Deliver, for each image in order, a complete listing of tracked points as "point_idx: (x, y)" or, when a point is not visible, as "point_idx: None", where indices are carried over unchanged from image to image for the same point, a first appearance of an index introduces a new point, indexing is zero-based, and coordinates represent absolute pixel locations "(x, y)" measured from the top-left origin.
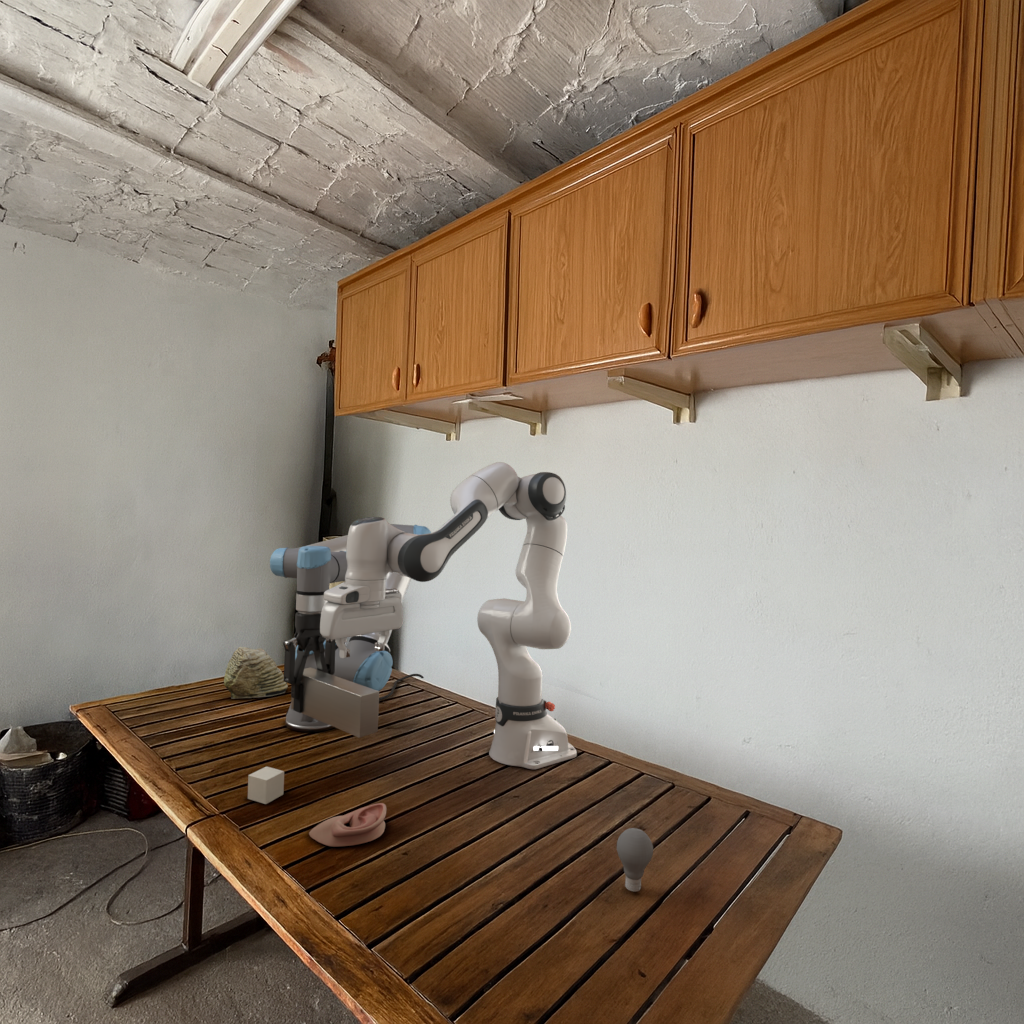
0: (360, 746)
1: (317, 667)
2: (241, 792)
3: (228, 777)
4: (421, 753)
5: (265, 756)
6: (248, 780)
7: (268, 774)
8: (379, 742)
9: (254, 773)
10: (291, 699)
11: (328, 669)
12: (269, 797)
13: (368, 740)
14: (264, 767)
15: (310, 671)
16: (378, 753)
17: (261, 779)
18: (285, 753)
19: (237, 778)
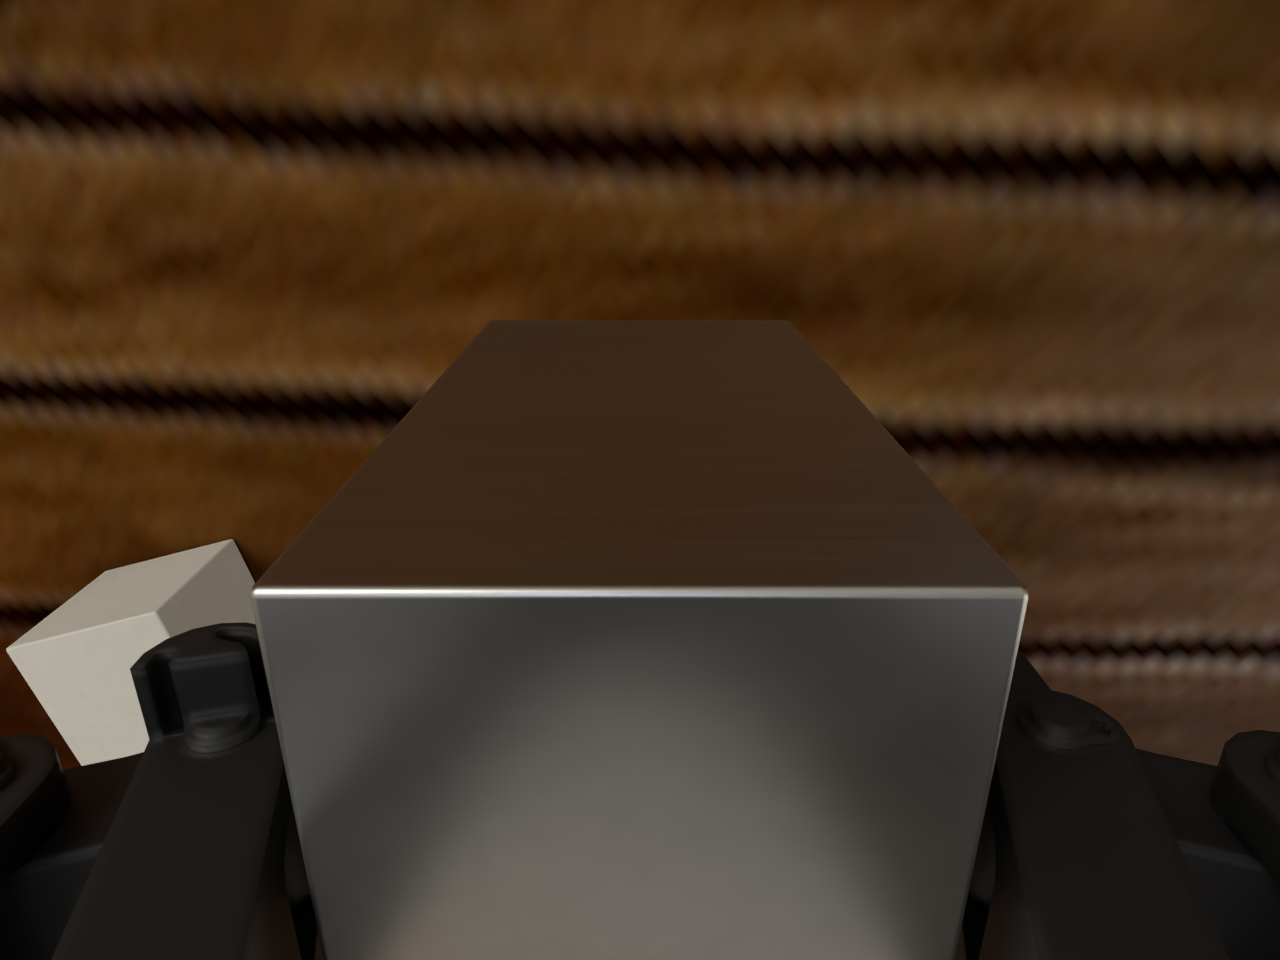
0: (1075, 409)
1: (1023, 948)
2: (99, 476)
3: (82, 208)
4: (1202, 752)
5: (451, 34)
6: (31, 631)
7: (124, 720)
8: (1218, 446)
9: (48, 653)
10: (463, 353)
11: (1276, 934)
12: None
13: (1207, 357)
14: (135, 620)
15: (698, 934)
16: (1049, 585)
17: (67, 742)
18: (604, 102)
19: (132, 271)
